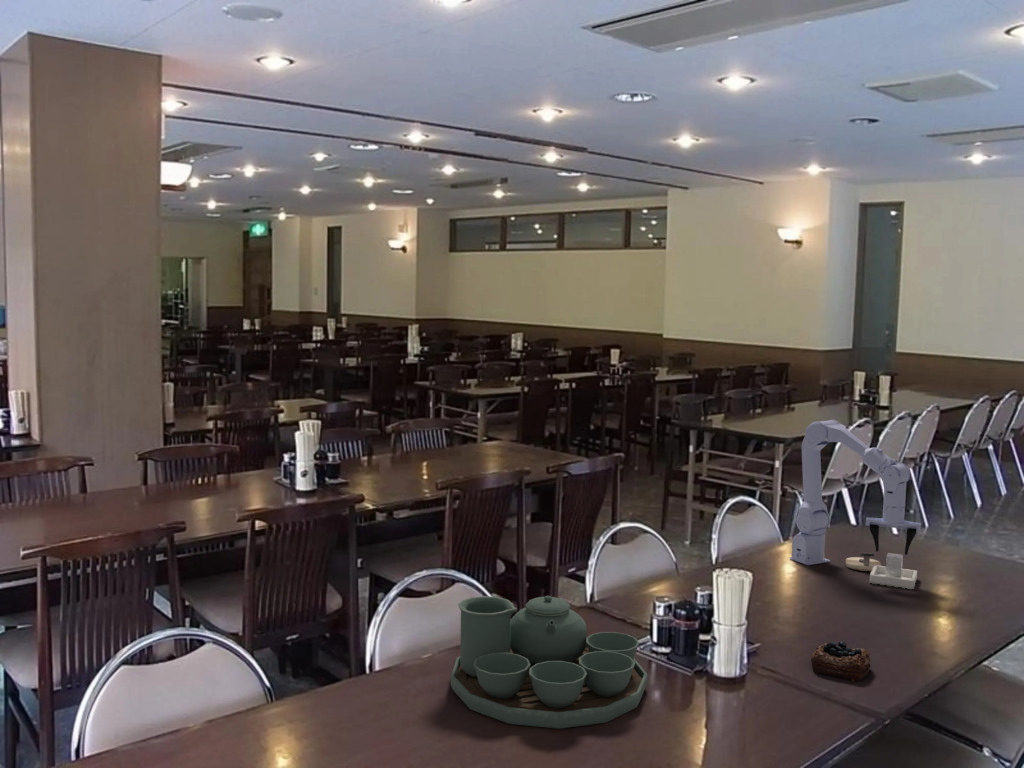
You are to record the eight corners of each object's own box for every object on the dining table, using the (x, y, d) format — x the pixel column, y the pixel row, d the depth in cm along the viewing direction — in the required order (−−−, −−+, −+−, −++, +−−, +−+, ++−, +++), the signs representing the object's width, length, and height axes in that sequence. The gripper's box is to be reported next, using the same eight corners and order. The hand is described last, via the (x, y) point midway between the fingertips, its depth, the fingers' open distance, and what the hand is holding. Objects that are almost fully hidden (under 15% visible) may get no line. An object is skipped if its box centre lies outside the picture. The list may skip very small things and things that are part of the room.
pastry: (863, 685, 191) (865, 657, 191) (805, 672, 198) (806, 646, 197) (873, 667, 201) (874, 641, 200) (817, 656, 207) (818, 631, 206)
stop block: (885, 579, 264) (886, 556, 263) (886, 576, 267) (888, 552, 266) (900, 582, 262) (901, 558, 261) (901, 578, 265) (903, 554, 265)
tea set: (499, 747, 162) (500, 657, 161) (426, 665, 199) (426, 591, 197) (686, 710, 179) (689, 627, 177) (587, 640, 215) (588, 571, 213)
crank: (842, 561, 283) (842, 544, 283) (875, 562, 282) (876, 546, 282) (849, 570, 273) (850, 553, 273) (884, 572, 272) (885, 554, 272)
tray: (869, 583, 262) (869, 574, 261) (874, 573, 272) (874, 564, 272) (913, 589, 256) (914, 581, 256) (916, 579, 267) (917, 570, 266)
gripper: (921, 505, 263) (919, 552, 265) (867, 500, 269) (865, 545, 270) (921, 510, 257) (919, 558, 258) (866, 505, 263) (864, 551, 264)
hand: (891, 552), depth 264 cm, fingers open, 7 cm apart
